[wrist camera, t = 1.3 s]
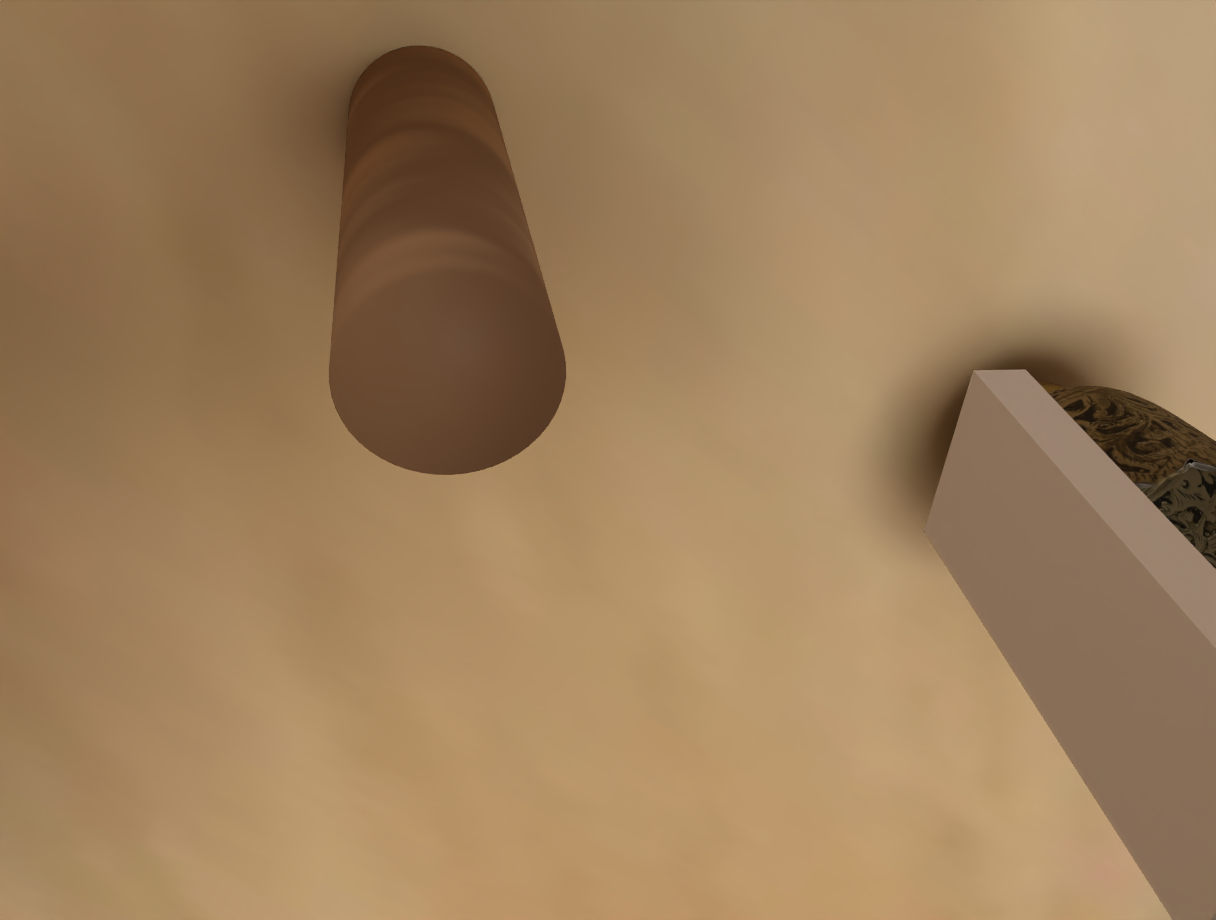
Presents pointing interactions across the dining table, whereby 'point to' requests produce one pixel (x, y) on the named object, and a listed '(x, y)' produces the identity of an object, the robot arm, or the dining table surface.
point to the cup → (1152, 455)
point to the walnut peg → (437, 276)
